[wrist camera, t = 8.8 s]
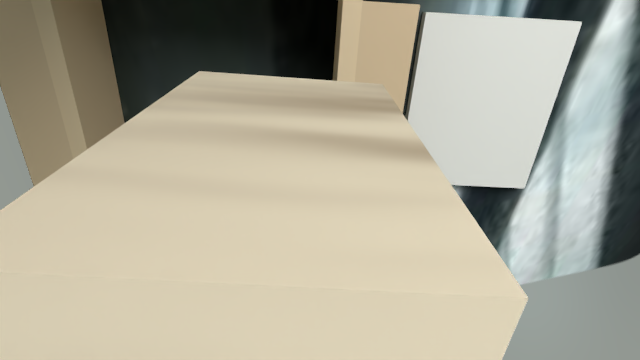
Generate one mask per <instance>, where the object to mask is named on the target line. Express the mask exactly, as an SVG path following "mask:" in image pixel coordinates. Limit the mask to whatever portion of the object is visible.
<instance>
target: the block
mask: <svg viewBox="0 0 640 360" xmlns="http://www.w3.org/2000/svg"><path fill="white" fill-rule="evenodd" d="M527 301H528V297H527V295H526V294H525V292H524V291H523V290H522V288H521V287H520V285H519V284H518V282H517V281H516V279H515V278H514V276H513V275H512V273H511V272H510V270H509V269H508V268H507V266H506V265H505V263H504V262H503V260H502V259H501V257H500V256H499V254H498V253H497V251H496V250H495V248H494V247H493V246H492V244H491V243H490V241H489V240H488V238H487V237H486V235H485V234H484V232H483V231H482V229H481V228H480V226H479V225H478V224H477V222H476V221H475V219H474V218H473V216H472V215H471V213H470V212H469V210H468V209H467V207H466V206H465V204H464V203H463V202H462V200H461V199H460V197H459V196H458V194H457V193H456V191H455V190H454V188H453V187H452V185H451V184H450V182H449V181H448V180H447V178H446V177H445V175H444V174H443V172H442V171H441V169H440V168H439V166H438V165H437V163H436V162H435V161H434V159H433V158H432V156H431V155H430V153H429V152H428V150H427V149H426V147H425V146H424V144H423V143H422V141H421V140H420V139H419V137H418V136H417V134H416V133H415V131H414V130H413V128H412V127H411V125H410V124H409V122H408V121H407V119H406V118H405V117H404V115H403V114H402V112H401V111H400V109H399V108H398V106H397V105H396V103H395V102H394V100H393V99H392V97H391V96H390V95H389V93H388V92H387V90H386V89H385V87H384V86H383V84H374V83H360V82H346V81H332V80H317V79H303V78H289V77H275V76H261V75H247V74H233V73H219V72H204V71H199V72H197V73H196V74H194V75H193V76H192V77H190V78H189V79H187V80H186V81H184V82H183V83H182V84H180V85H179V86H177V87H176V88H174V89H173V90H172V91H170V92H169V93H167V94H166V95H164V96H163V97H162V98H160V99H159V100H157V101H156V102H154V103H153V104H152V105H150V106H149V107H147V108H146V109H144V110H143V111H142V112H140V113H139V114H137V115H136V116H134V117H133V118H132V119H130V120H129V121H127V122H126V123H124V124H123V125H122V126H120V127H119V128H117V129H116V130H114V131H113V132H111V133H110V134H109V135H107V136H106V137H104V138H103V139H101V140H100V141H99V142H97V143H96V144H94V145H93V146H91V147H90V148H89V149H87V150H86V151H84V152H83V153H81V154H80V155H79V156H77V157H76V158H74V159H73V160H71V161H70V162H69V163H67V164H66V165H64V166H63V167H61V168H60V169H59V170H57V171H56V172H54V173H53V174H51V175H50V176H49V177H47V178H46V179H44V180H43V181H41V182H40V183H39V184H37V185H36V186H34V187H33V188H31V189H30V190H29V191H27V192H26V193H24V194H23V195H21V196H20V197H19V198H17V199H16V200H14V201H13V202H11V203H10V204H8V205H7V206H6V207H4V208H3V209H1V210H0V360H502V358H503V355H504V353H505V351H506V349H507V346H508V344H509V342H510V339H511V337H512V335H513V333H514V330H515V328H516V326H517V323H518V321H519V319H520V316H521V314H522V312H523V309H524V307H525V305H526V303H527Z"/></svg>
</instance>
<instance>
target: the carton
mask: <svg viewBox="0 0 640 360" xmlns="http://www.w3.org/2000/svg"><path fill="white" fill-rule="evenodd" d="M419 9H420V5H418V4H402V3H386V2H370V1H363V0H338V10H337V25H336V39H335V53H334V67H333V81H346V82H360V83H374V84H383V86H384V87H385V89H386V90H387V92H388V93H389V95H390V96H391V97H392V99H393V100H394V102H395V103H396V105H397V106H398V108H399V109H400V111H401V112H402V114H403V108H404V102H405V96H406V89H407V83H408V77H409V71H410V65H411V58H412V52H413V46H414V40H415V34H416V27H417V21H418V15H419ZM0 86H1V89H2V92H3V95H4V98H5V101H6V104H7V107H8V110H9V113H10V116H11V119H12V122H13V125H14V128H15V131H16V134H17V137H18V140H19V143H20V146H21V149H22V152H23V155H24V158H25V161H26V164H27V167H28V170H29V173H30V176H31V179H32V182H33V185H34V186H36V185H37V184H39V183H40V182H41V181H43V180H44V179H46V178H47V177H49V176H50V175H51V174H53V173H54V172H56V171H57V170H59V169H60V168H61V167H63V166H64V165H66V164H67V163H69V162H70V161H71V160H73V159H74V158H76V157H77V156H79V155H80V154H81V153H83V152H84V151H86V150H87V149H89V148H90V147H91V146H93V145H94V144H96V143H97V142H99V141H100V140H101V139H103V138H104V137H106V136H107V135H109V134H110V133H111V132H113V131H114V130H116V129H117V128H119V127H120V126H122V125H123V124H124V117H123V112H122V107H121V102H120V96H119V91H118V86H117V81H116V75H115V70H114V65H113V60H112V54H111V49H110V44H109V39H108V34H107V28H106V23H105V18H104V13H103V7H102V2H101V0H0Z"/></svg>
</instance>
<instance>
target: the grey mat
mask: <svg viewBox="0 0 640 360" xmlns="http://www.w3.org/2000/svg"><path fill="white" fill-rule="evenodd" d="M581 24H582V22H578V21H564V20H548V19H532V18H515V17H499V16H483V15H466V14H450V13H434V12H423V14H422V20H421V26H420V32H419V38H418V44H417V50H416V56H415V62H414V68H413V74H412V80H411V86H410V92H409V98H408V104H407V111H406V117H405V118H406V119H407V121H408V122H409V124H410V125H411V127H412V128H413V130H414V131H415V133H416V134H417V136H418V137H419V139H420V140H421V141H422V143H423V144H424V146H425V147H426V149H427V150H428V152H429V153H430V155H431V156H432V158H433V159H434V161H435V162H436V163H437V165H438V166H439V168H440V169H441V171H442V172H443V174H444V175H445V177H446V178H447V180H448V181H449V182H450V184H451V185H462V186H483V187H505V188H525V185H526V183H527V180H528V177H529V174H530V171H531V168H532V165H533V162H534V160H535V157H536V154H537V151H538V148H539V145H540V142H541V139H542V137H543V134H544V131H545V128H546V125H547V122H548V119H549V116H550V114H551V111H552V108H553V105H554V102H555V99H556V96H557V93H558V90H559V88H560V85H561V82H562V79H563V76H564V73H565V70H566V67H567V65H568V62H569V59H570V56H571V53H572V50H573V47H574V44H575V42H576V39H577V36H578V33H579V30H580V27H581Z"/></svg>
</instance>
